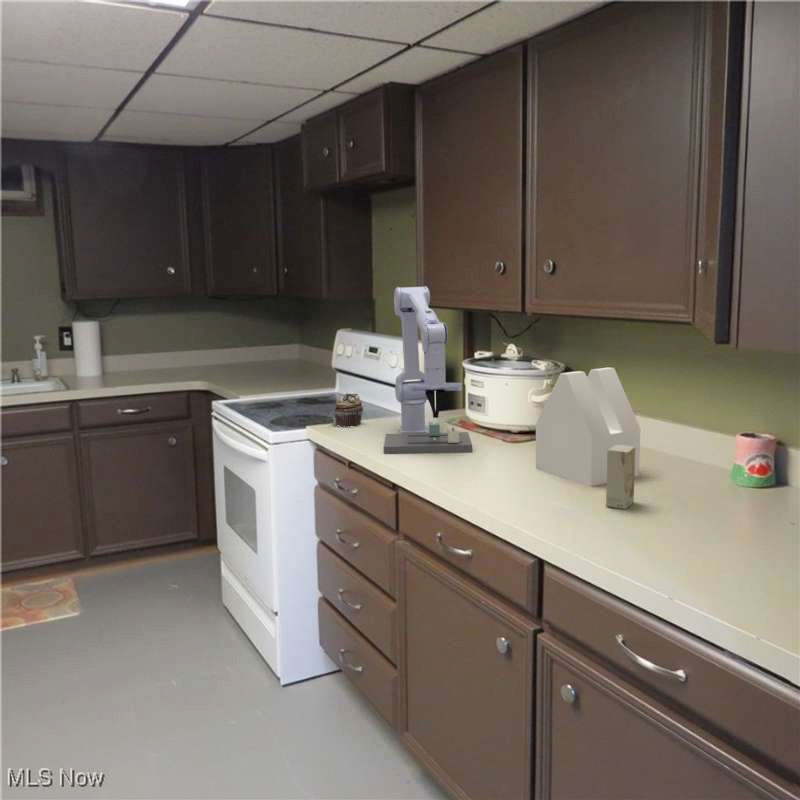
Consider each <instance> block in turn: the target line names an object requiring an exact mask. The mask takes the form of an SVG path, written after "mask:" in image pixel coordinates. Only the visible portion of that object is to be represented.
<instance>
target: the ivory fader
mask: <svg viewBox="0 0 800 800" xmlns="http://www.w3.org/2000/svg"><path fill="white" fill-rule="evenodd" d="M459 429H460V428H459V427H447V432H446V433H448V443H459V432H460V430H459Z"/></svg>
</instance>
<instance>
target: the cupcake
mask: <svg viewBox="0 0 800 800" xmlns="http://www.w3.org/2000/svg"><path fill="white" fill-rule="evenodd" d="M360 398H361V397H360V396H359V394H358V393H345V394H342V396H341V397H340V398H339V399H338V401H337V402H336V404H335V408H334V409H333V411H332V412H333V415H334V419H335V420H334V421H335V424H336V426H337V425H339V426H349V427H348V428H351V427H350V426H355V427H358V426H360V425H361V422H362V416H363V412H364V407H363V406H362V404H363V403H362V401H361V400H360ZM339 426H338V427H339Z"/></svg>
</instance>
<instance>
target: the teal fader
mask: <svg viewBox="0 0 800 800" xmlns="http://www.w3.org/2000/svg"><path fill="white" fill-rule="evenodd" d="M440 429H441V427H440V421H429V422H428V433H429V436H440V433H441V432H440Z"/></svg>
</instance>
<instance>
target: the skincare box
mask: <svg viewBox="0 0 800 800" xmlns="http://www.w3.org/2000/svg"><path fill="white" fill-rule="evenodd" d="M634 471H635V447H633V446H625V445H615V446H613V447H611V448H610V449H609V450H607V483H606V489H605V490H606V493H605V494H606V495H605V497H606V498H605V507H609V508H616V509H621V510H622V509H623V510H626V509H627V508H629V507H630V506H631V505H632V504H633V503H634V499H635V498H634V497H635V477H634Z"/></svg>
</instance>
